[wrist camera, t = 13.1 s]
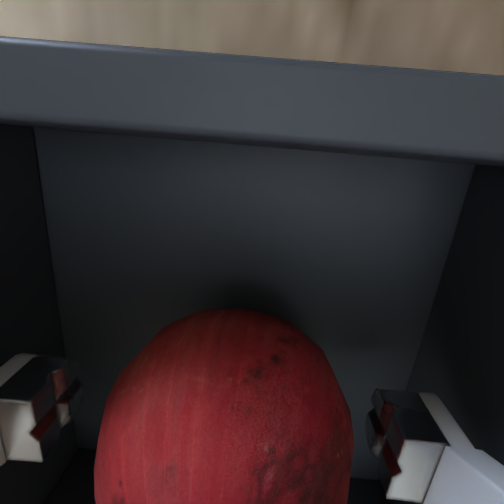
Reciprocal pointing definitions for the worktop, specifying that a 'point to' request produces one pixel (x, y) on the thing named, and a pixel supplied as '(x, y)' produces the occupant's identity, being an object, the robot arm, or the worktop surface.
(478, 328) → the bin
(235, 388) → the pomegranate
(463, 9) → the worktop surface
